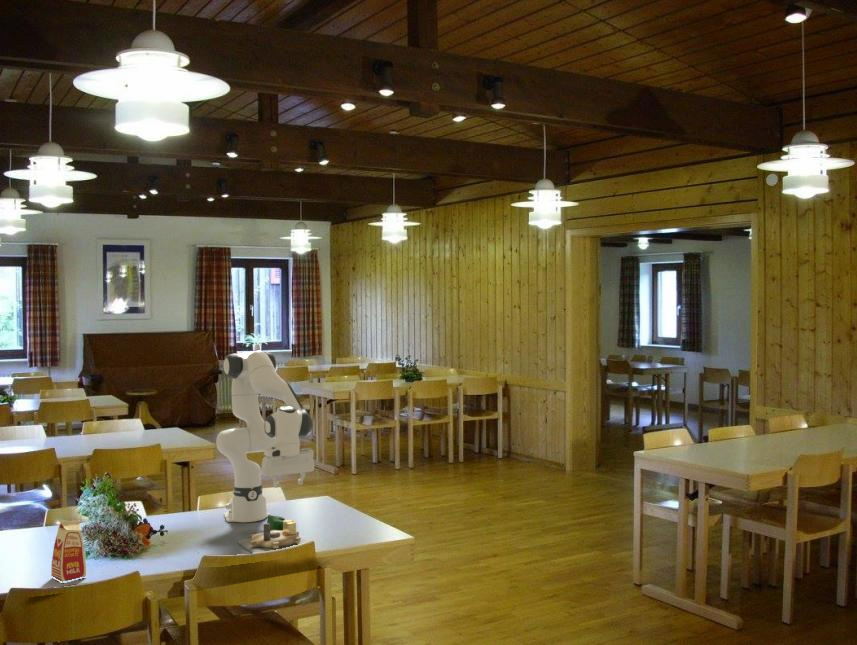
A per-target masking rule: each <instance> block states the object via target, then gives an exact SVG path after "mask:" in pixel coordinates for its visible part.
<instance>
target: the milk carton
mask: <svg viewBox="0 0 857 645" xmlns="http://www.w3.org/2000/svg"><path fill="white" fill-rule="evenodd" d="M80 523H82V520H80V519H79V520H63V519H61V520H60V524H59V526H58V529H57V533H56V537H55V540H54V545H53V551H52V558H51V571H50V572H51V576H53V577H55V578H56V579H58V580H60V581H62V582H63V581H68V580H72V579H76V578H80V577H85V576H86V577H87V566H86V565H87V564H86V555H85V545H84V540H83V535H82V529H81V525H80Z"/></svg>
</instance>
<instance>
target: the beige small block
mask: <svg viewBox="0 0 857 645" xmlns="http://www.w3.org/2000/svg"><path fill="white" fill-rule="evenodd" d="M283 531H284V532H285V533H287V534H296V531H297V522H296V521H295V520H291V519H286V520H284V521H283Z"/></svg>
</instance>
